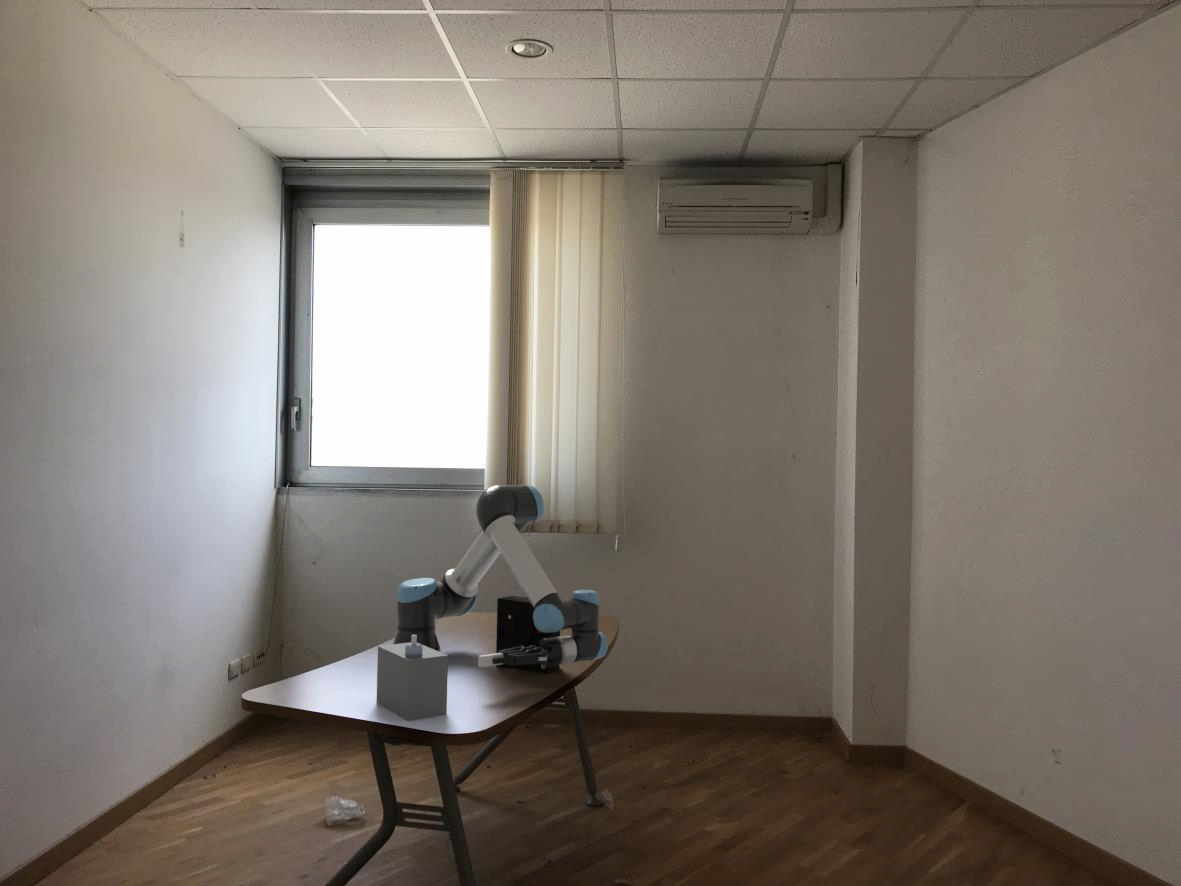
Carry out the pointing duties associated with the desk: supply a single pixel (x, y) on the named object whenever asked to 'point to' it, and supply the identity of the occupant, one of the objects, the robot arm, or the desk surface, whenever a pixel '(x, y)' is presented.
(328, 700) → the desk surface
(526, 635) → the electrical component
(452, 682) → the desk surface
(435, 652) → the housing
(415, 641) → the knob
